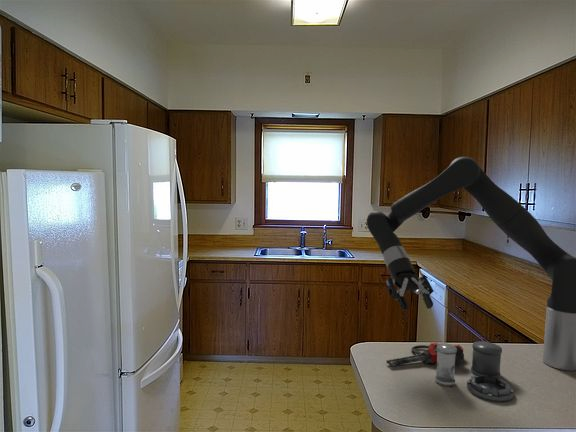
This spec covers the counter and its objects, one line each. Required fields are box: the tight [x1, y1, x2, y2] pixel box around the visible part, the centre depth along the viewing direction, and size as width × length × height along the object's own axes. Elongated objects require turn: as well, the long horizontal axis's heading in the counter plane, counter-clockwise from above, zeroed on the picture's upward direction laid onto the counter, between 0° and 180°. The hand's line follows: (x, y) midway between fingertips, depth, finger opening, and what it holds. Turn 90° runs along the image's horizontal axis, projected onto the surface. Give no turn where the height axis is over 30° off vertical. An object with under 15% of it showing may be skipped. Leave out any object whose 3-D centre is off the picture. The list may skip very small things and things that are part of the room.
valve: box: [386, 342, 465, 368], centre depth 127 cm, size 6×26×15 cm
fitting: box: [434, 342, 457, 387], centre depth 112 cm, size 5×5×10 cm
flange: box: [466, 374, 514, 403], centre depth 108 cm, size 11×11×2 cm
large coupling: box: [470, 340, 503, 379], centre depth 118 cm, size 8×8×8 cm
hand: (418, 308), depth 123 cm, fingers open, 8 cm apart
